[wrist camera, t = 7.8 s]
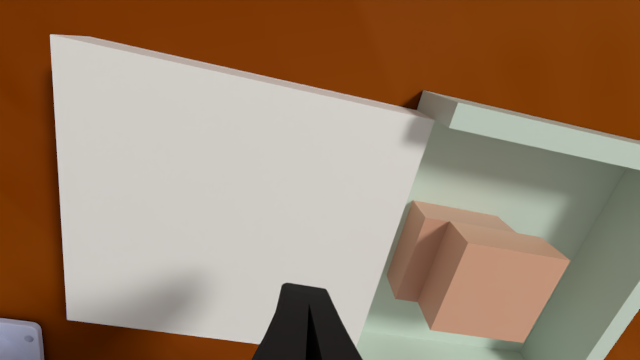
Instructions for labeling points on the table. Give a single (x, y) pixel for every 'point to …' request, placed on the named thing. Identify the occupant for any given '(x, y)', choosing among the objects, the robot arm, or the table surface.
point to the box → (526, 229)
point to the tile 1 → (427, 244)
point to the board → (219, 190)
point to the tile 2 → (489, 282)
